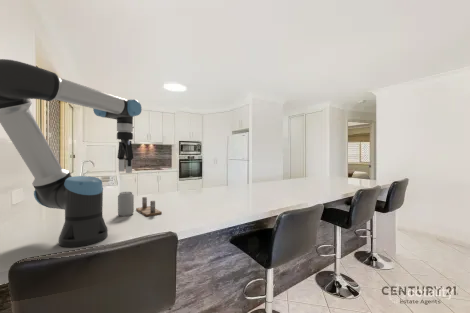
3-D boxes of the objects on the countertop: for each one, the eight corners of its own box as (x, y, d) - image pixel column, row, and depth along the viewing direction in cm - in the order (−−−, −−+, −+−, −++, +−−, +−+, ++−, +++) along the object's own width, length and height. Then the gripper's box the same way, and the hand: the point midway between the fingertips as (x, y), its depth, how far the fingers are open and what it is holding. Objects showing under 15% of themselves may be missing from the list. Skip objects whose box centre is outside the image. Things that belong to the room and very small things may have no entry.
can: (114, 215, 113) (114, 192, 113) (127, 212, 120) (127, 190, 120) (123, 217, 110) (123, 194, 110) (136, 213, 116) (136, 191, 116)
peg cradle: (161, 214, 116) (161, 200, 116) (146, 216, 111) (146, 202, 111) (150, 208, 129) (150, 196, 129) (136, 210, 124) (136, 197, 124)
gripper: (140, 130, 108) (140, 173, 108) (125, 134, 126) (125, 170, 126) (123, 129, 103) (123, 174, 103) (111, 133, 121) (111, 170, 121)
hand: (125, 172), depth 115 cm, fingers open, 13 cm apart
